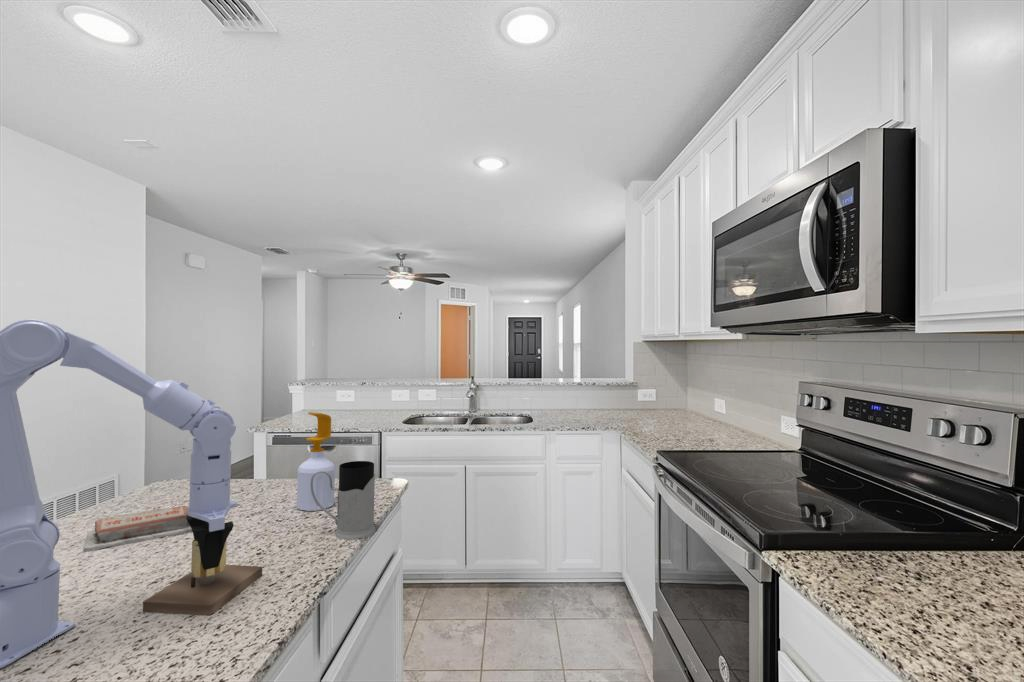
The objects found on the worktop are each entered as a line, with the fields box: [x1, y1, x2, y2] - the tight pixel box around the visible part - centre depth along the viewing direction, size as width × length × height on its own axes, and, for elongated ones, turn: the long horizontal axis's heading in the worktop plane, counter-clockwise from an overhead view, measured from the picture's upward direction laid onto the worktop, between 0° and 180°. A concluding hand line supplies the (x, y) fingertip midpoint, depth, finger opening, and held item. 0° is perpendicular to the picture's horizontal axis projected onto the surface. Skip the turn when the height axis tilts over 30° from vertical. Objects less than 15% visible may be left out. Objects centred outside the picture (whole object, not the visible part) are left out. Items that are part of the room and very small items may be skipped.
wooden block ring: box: [190, 539, 228, 578], centre depth 78 cm, size 5×5×5 cm
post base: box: [142, 564, 263, 616], centre depth 78 cm, size 13×11×5 cm
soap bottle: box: [296, 412, 336, 512], centre depth 122 cm, size 9×9×25 cm
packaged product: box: [83, 505, 192, 553], centre depth 102 cm, size 18×5×10 cm
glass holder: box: [311, 460, 377, 540], centre depth 105 cm, size 9×14×15 cm, turn 99°
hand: (208, 561), depth 78 cm, fingers closed on wooden block ring, 5 cm apart
